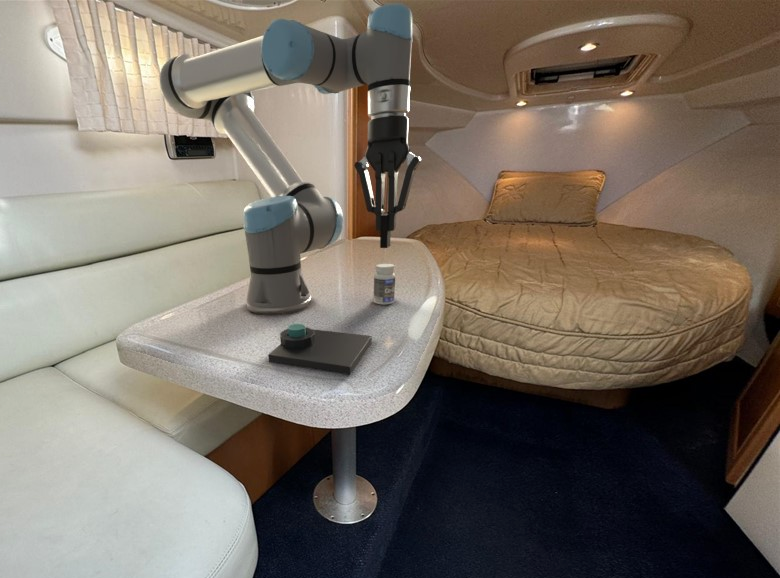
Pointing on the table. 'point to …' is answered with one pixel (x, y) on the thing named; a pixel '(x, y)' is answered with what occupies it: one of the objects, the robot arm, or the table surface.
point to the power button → (296, 330)
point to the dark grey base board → (321, 350)
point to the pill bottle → (384, 284)
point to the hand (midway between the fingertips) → (385, 246)
